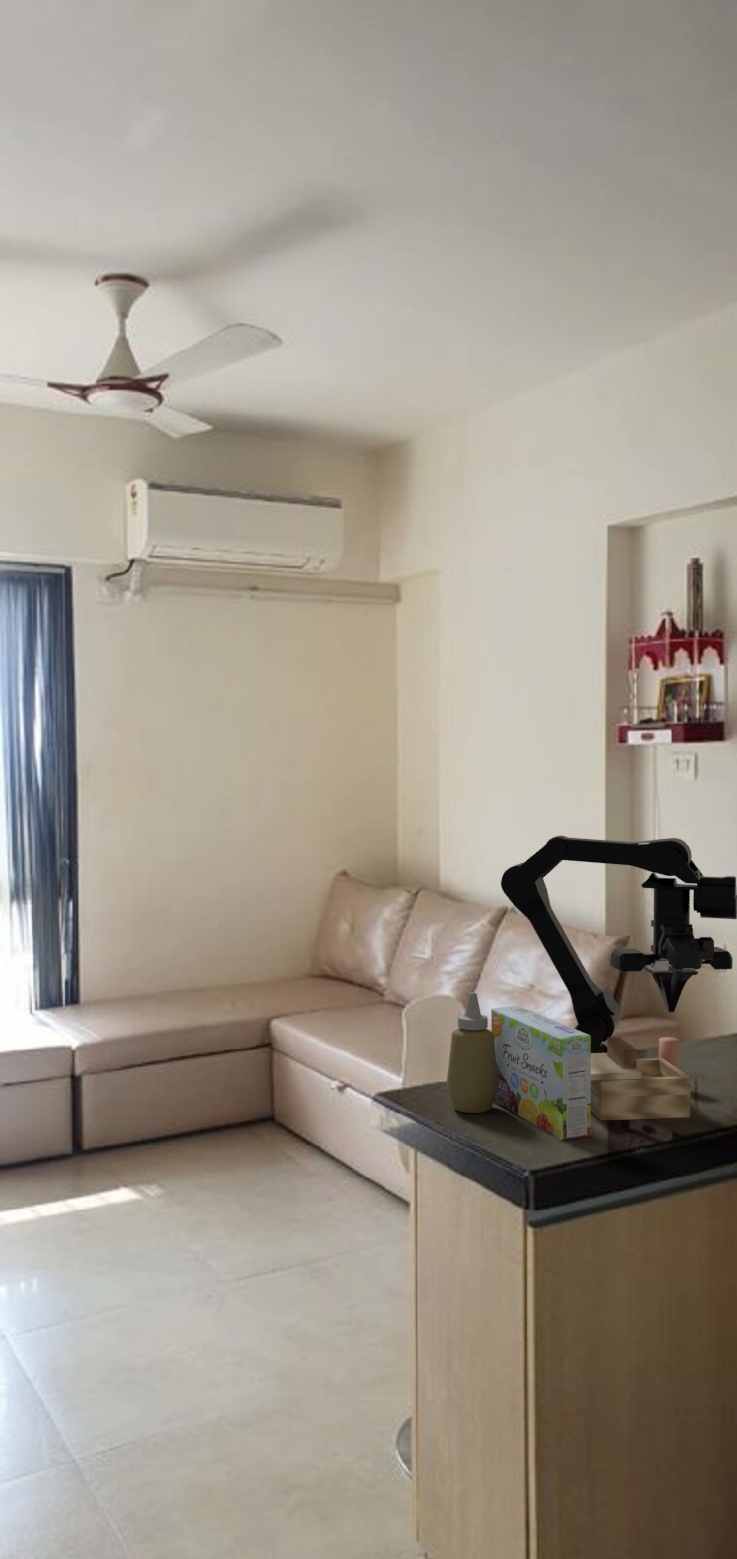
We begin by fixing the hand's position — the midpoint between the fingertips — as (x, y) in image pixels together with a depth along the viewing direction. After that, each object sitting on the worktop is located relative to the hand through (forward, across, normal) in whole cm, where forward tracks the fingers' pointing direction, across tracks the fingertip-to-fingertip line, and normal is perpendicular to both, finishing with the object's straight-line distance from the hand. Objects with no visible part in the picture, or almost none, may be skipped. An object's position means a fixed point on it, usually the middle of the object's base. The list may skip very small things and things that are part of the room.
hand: (670, 1011), depth 205 cm
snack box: (+13, -25, -12) cm, 31 cm away
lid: (+7, -14, -8) cm, 18 cm away
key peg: (+13, +1, +2) cm, 13 cm away
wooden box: (+13, -9, -8) cm, 18 cm away
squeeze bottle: (+13, -34, -6) cm, 37 cm away
